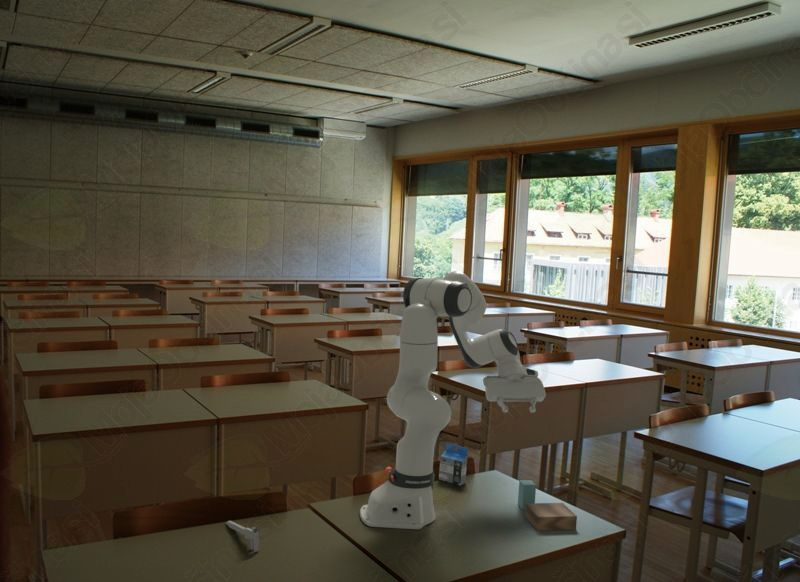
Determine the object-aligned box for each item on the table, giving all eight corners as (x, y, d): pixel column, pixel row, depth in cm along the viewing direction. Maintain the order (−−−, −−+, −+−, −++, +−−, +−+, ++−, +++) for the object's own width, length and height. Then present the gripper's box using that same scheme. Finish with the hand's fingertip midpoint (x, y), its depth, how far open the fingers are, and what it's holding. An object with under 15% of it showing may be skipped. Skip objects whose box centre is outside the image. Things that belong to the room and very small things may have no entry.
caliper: (258, 553, 174) (259, 529, 174) (254, 554, 174) (255, 530, 173) (229, 523, 191) (229, 502, 190) (225, 524, 190) (226, 502, 190)
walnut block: (537, 530, 197) (538, 517, 196) (525, 516, 207) (525, 503, 206) (576, 529, 199) (576, 516, 199) (561, 515, 209) (562, 502, 209)
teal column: (522, 509, 212) (523, 484, 211) (517, 504, 216) (519, 480, 215) (534, 509, 212) (536, 484, 212) (529, 504, 216) (531, 480, 216)
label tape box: (438, 480, 234) (440, 445, 233) (444, 477, 237) (446, 442, 236) (460, 486, 229) (462, 450, 228) (466, 483, 232) (468, 448, 231)
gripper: (484, 370, 227) (491, 406, 219) (542, 371, 231) (551, 406, 222) (479, 380, 232) (486, 416, 223) (536, 381, 236) (545, 416, 227)
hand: (519, 411), depth 223 cm, fingers open, 8 cm apart
